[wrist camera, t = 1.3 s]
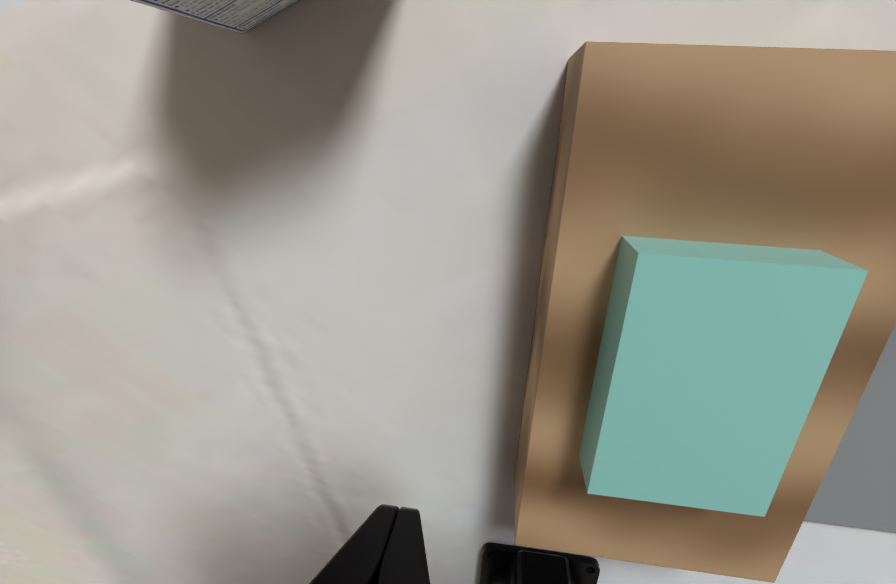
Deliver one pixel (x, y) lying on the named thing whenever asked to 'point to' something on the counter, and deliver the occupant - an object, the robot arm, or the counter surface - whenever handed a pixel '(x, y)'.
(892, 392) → the mat
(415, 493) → the counter surface
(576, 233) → the deck
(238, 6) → the medicine box
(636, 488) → the teal rectangular block
